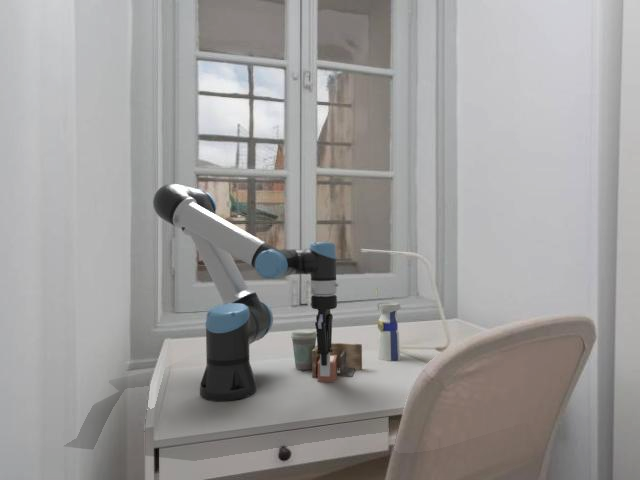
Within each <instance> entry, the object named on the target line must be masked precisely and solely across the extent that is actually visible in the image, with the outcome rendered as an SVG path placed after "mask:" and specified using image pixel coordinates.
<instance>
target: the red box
mask: <svg viewBox="0 0 640 480" xmlns="http://www.w3.org/2000/svg"><path fill="white" fill-rule="evenodd" d="M337 375H338V369H337V355H330V376H329V377H328V376H320V359H319V361H318V375H317V382H320V383H322V382H323V383H335V382H336V378H337Z"/></svg>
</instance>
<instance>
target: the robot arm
mask: <svg viewBox="0 0 640 480" xmlns="http://www.w3.org/2000/svg"><path fill="white" fill-rule="evenodd" d="M152 203H153V205H152V206H153V209H154V211H155V214H156V215H157V216H158V217H159V218H161V219H162V220H163V221H165V222H167V223H169V224H171V225H172V226H174V227H176V228H178V229H181V230H182V232H183V235H186V236H188V237H191V240H192V242H193V244H194V246H195V248H196V249H197V251H198V254H199V256H200V258H201V260H202V262H203V264H204V266H205V268H206V270H207V273H208V274H209V276H210V278H211V280H212V282H213V285H214V286H215V288H216V290H217V292H218V294H219V296H220V299H221V300H222V302H223V304H220V305H219V304H218V305H217V306H213V307H211V308H210V309H209V310H208V311H207V313H206V321H205V329H206V330H205V332H206V334H205V341H206V342H205V343H206V345H205V346H206V347H205V349H206V363H205V364H206V366H205V369H204V372H203V376H202V378H201V382H200V385H199V396H200V397H202V398H203V399H205V400H208V401H213V402H214V401H215V402H227V401H235V400H240V399H244V398H247V397H249V396H251V395H253V394H255V392H256V390H257V379H256V377H255V374H254V371H253V369H252V365H251V362H250V345H251V344H253V343H254V342H256V341H257V342H258V341H260V340H261V339H263V338H264V337H265V336H266V335H267V334H269V332H270V330H271V329H272V326H273V323H274V316H273V312H272V309H271V308H270V306H269V305H268V304H267V303H265V302H263V301H261V300H260V297H258V293H257V292H256V291H254V290H250V289H249V288H248V285H247V283H246V282H245V280H244V277H243V275H242V274H241V271H240V270H239V268H238V266H237V264H236V262H235V260H234V258H233V257H235V258H237V259H238V260H240V261H242V262H244V263H245V264H247V265H249V266H251V267H253V268H254V269H255V270H256V272H257V274H258V275H259V276H261V277H262V278H264V279H271V280H274V279H279V278H281V277H286V276H287V277H288V276H292V275H310V293H311V297H310V302H311V303H310V305H311V309H313V310H316V311H317V315H316V319H315V323H314V325H315V329H316V330H315V331H316V334H317V337H316V343H317V345H318V352H317V354H320V376H328V377H329V376H330V353H329V352H333V350H331V349H330V348H331V347H332V346H331V343H332V341H333V340H332V335H333V334H332V333H333V318H334V317H333V314H332V313H331V310H334V309H336V308H338V307H337V306H338V301H337V300H338V296H337V295H336V294H337V287H339V283H338V282H337V253H336V245H335V243H334V242H332V241H329V242H326V241H324V242H322V241H321V242H320V241H318V242H311V243H310V245H309V248H306V249H300V248H299V249H297V248H295V249H293V248H291V249H289V248H288V249H285V248H283V249H282V248H281V249H278V248H277V247H275V246H272V245H271V244H269V243H268V242H266V241H264V240H262V239H260V238H259V237H256V236H255V235H253V234H251V233H250V232H247V231H245V230H244V229H242V228H240V227H239V226H236V225H235V224H234V223H232V222H230V221H228V220H226V219H224V218H222V217H221V216H218V215H217V213H216V211H217V204H216V201H215V198H214V197H213V196H212V195H211V194H210V193H209V192H207V191H205V190H203V189H201V188H198V187H190V186H187V185H184V184H183V185H182V184H179V183H167V184H164V185H162V186H161V187H160V188H158V190H157V191H156V192H155V194H154V196H153V201H152ZM317 345H316V346H317Z"/></svg>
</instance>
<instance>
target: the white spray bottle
mask: <svg viewBox="0 0 640 480" xmlns="http://www.w3.org/2000/svg"><path fill="white" fill-rule="evenodd" d="M378 293H379V290H378V289H376V290H375V296H376V297H378ZM376 306H377V311H379V313H380V316H379V319H378V322H377V330H378V351H377V352H378V353H377V354H378V355H377V358H378V360H381V361H385V362H395V361H400V359H401V350H400V332H399V330H398V326H399V325H398V322H399V318H398V315H397V314H398V311H399V310H401V309H402V307H401V305H400V303H399V302H397V301H396V302H395V301H385V302H384V301H382V302H377V305H376Z"/></svg>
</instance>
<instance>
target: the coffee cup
mask: <svg viewBox="0 0 640 480" xmlns="http://www.w3.org/2000/svg"><path fill="white" fill-rule="evenodd" d="M291 340H292V347H293V348H292V350H293V356H294V365H295V369H297V370H300V371H309V370H312V350H313V349H314V348H315V347H316V343H317V333H316V330H315V329H312V328H299V329H298V328H297V329H294V330H292V334H291Z"/></svg>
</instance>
